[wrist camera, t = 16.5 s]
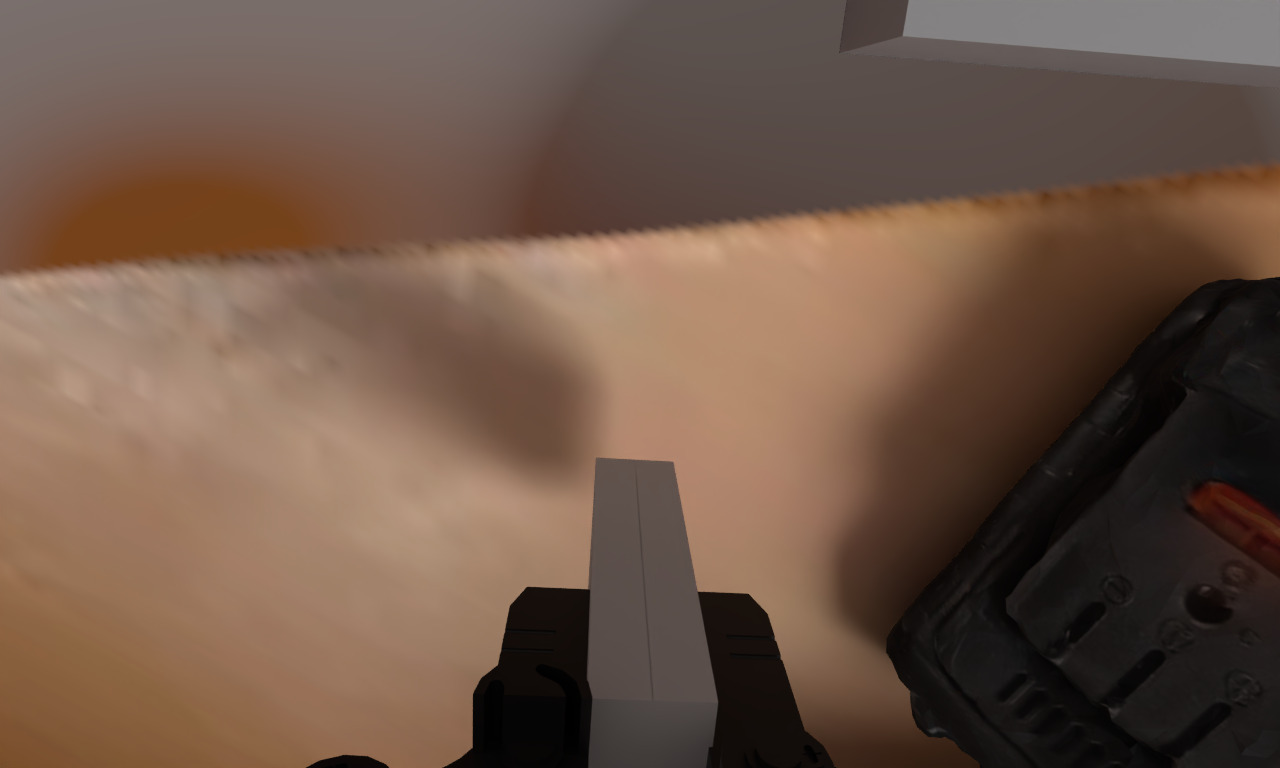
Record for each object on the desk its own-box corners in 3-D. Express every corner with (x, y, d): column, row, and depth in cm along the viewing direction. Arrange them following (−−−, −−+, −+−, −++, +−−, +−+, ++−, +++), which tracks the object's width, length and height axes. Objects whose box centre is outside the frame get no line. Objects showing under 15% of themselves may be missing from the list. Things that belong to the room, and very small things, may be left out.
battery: (1281, 288, 18) (1245, 176, 13) (1753, 569, 13) (1983, 559, 8) (921, 615, 22) (789, 624, 17) (1174, 922, 17) (1092, 1059, 12)
